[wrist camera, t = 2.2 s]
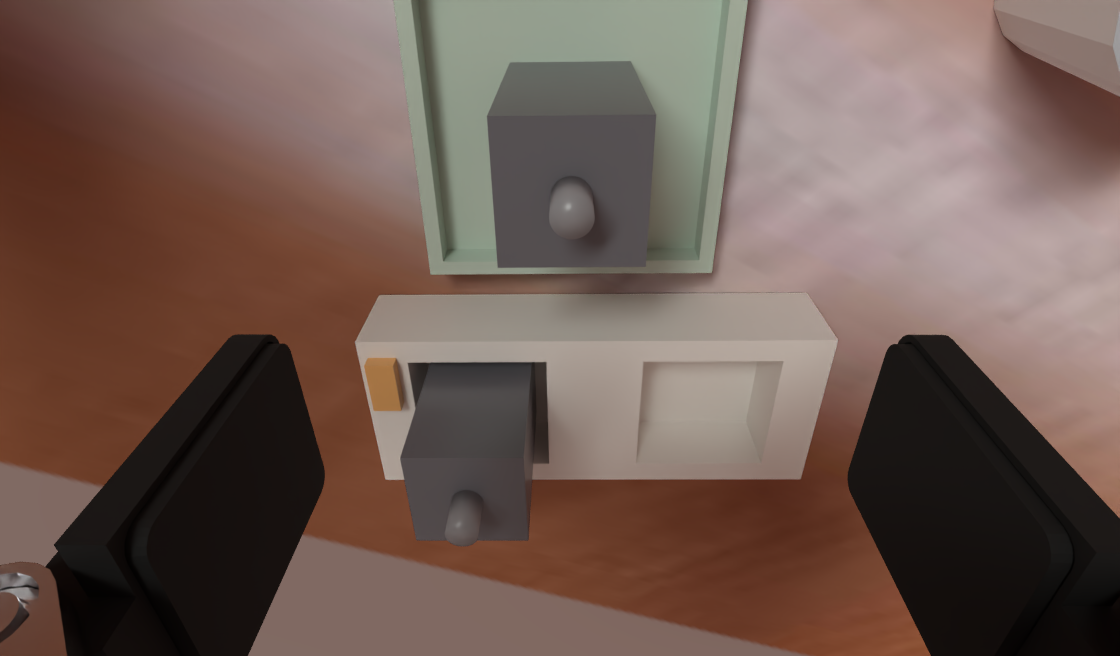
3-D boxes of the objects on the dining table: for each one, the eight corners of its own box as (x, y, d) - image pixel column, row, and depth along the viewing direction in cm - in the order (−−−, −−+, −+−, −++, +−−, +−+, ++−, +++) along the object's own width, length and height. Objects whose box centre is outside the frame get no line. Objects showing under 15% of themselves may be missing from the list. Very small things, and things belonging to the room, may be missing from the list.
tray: (398, -55, 22) (386, -53, 21) (742, -59, 22) (755, -58, 20) (437, 255, 28) (430, 274, 27) (703, 254, 28) (711, 273, 27)
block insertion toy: (379, 295, 30) (297, 453, 21) (807, 292, 29) (912, 452, 20) (403, 424, 34) (344, 602, 25) (777, 423, 34) (853, 603, 25)
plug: (509, 62, 24) (479, 132, 15) (630, 61, 23) (664, 131, 15) (515, 179, 26) (492, 293, 18) (625, 178, 26) (651, 292, 18)
